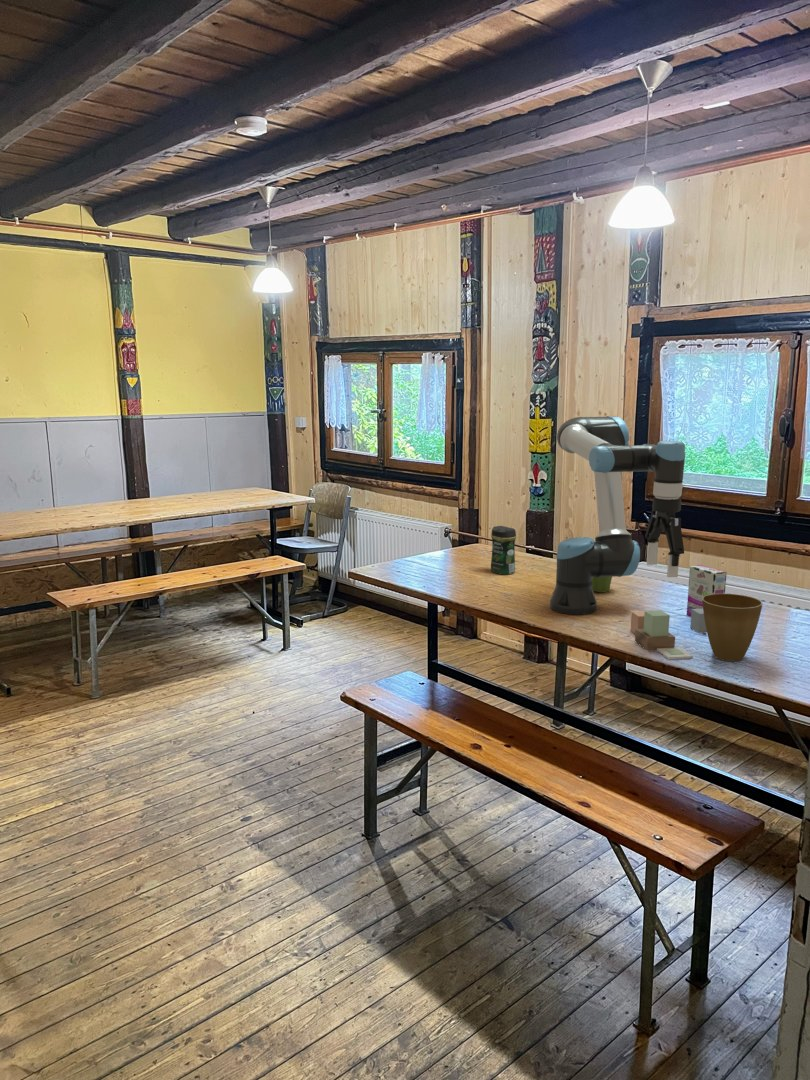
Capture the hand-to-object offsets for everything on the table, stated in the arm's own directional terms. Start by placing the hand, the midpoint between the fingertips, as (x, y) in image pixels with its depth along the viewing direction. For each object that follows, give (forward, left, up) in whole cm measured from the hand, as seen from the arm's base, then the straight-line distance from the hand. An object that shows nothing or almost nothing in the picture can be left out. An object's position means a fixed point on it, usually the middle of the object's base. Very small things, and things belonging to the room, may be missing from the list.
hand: (661, 570), depth 215 cm
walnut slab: (+4, -3, -21) cm, 22 cm away
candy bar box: (-17, +23, -21) cm, 35 cm away
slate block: (-7, +17, -21) cm, 28 cm away
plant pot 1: (-55, +3, -21) cm, 59 cm away
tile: (+12, -1, -21) cm, 24 cm away
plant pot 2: (+16, +13, -21) cm, 29 cm away
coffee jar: (-86, -25, -21) cm, 92 cm away
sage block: (+5, -3, -17) cm, 18 cm away
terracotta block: (-7, -2, -21) cm, 22 cm away
